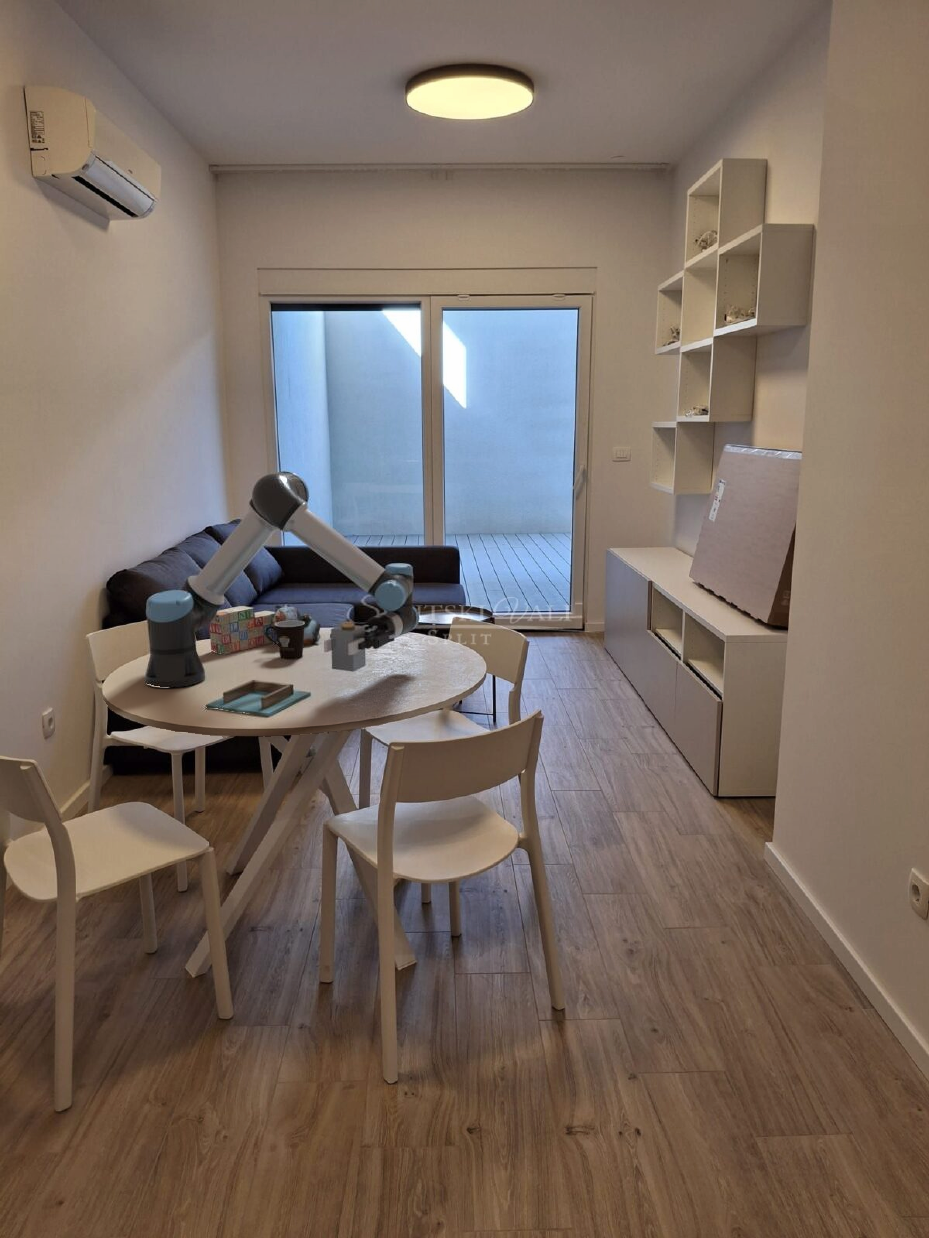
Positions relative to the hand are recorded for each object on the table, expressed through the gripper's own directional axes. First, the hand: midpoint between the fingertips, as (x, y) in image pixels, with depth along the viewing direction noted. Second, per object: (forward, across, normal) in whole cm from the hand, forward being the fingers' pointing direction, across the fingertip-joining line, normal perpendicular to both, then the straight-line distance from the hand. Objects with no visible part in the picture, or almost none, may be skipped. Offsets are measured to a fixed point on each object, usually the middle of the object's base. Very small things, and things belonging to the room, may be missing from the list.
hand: (337, 648), depth 209 cm
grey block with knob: (-5, 0, -6) cm, 8 cm away
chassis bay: (+6, +19, -14) cm, 24 cm away
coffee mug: (-34, +38, -14) cm, 53 cm away
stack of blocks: (-39, +56, -15) cm, 70 cm away
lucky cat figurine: (-50, +44, -14) cm, 68 cm away
